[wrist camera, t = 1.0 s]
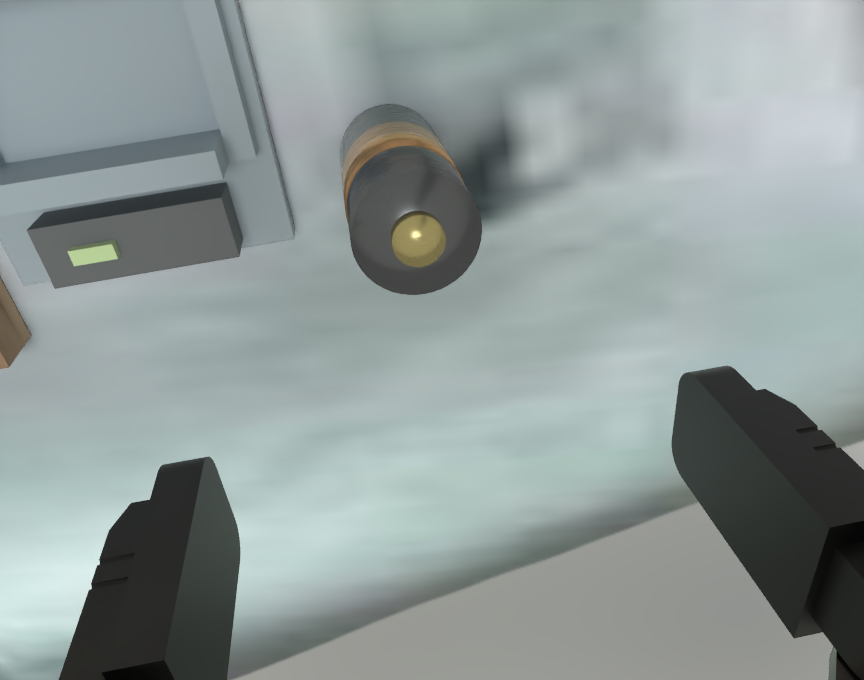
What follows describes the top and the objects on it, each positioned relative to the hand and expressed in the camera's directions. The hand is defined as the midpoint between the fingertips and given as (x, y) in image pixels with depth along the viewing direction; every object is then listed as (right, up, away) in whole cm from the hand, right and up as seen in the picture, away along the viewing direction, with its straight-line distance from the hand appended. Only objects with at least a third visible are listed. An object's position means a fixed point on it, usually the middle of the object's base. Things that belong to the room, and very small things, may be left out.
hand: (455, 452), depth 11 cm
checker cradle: (-12, +11, +13) cm, 21 cm away
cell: (-2, +10, +16) cm, 19 cm away
